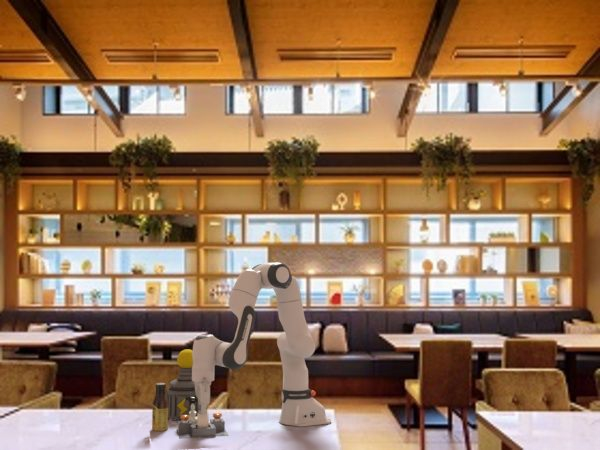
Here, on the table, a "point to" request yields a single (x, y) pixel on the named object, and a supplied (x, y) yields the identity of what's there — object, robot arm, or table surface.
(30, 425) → the table surface
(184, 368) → the decorative lamp
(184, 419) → the plunger
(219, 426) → the housing
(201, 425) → the cylinder
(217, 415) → the plunger
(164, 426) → the sauce bottle
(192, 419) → the valve
